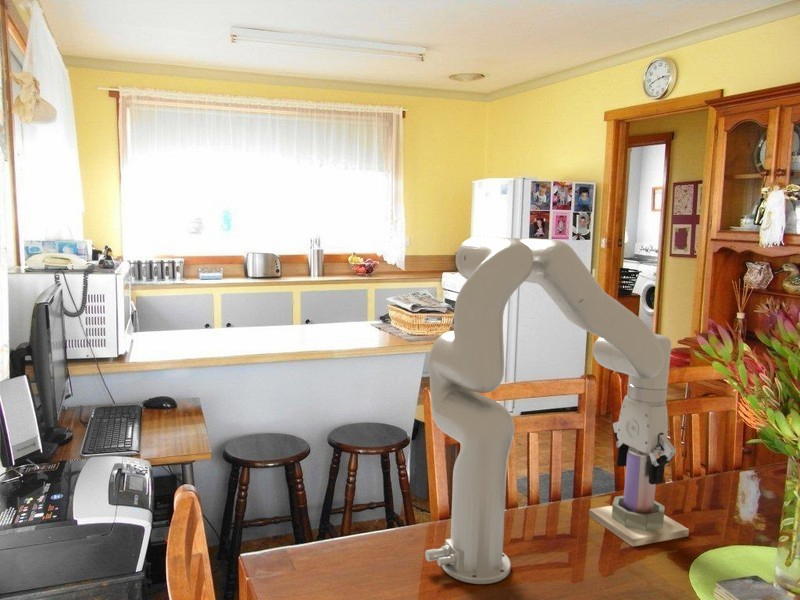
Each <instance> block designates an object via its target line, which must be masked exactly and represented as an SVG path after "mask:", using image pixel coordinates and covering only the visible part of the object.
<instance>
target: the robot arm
mask: <svg viewBox="0 0 800 600" xmlns="http://www.w3.org/2000/svg"><path fill="white" fill-rule="evenodd" d="M455 266H456V269H457V271H458V272H459V274H460V275H461V276H462V277H464V279H465V280H466V281H465V282H464V284H463V285H462V287H461V289H460V291H459V292H458V295H457V297H456V300H455V304H454V307H453V308H454V311H453V330H449V331H447V332H444V333H442V334H441V335H440V336H439V337H438V338H437V339H436V340H435V341H434V343H433V344H432V346H431V350H430V353H429V359H428V371H429V372H428V374H429V392H430V395H429V396H430V408H431V414H432V417H433V422H434V423H435V425H436V426H437V428H438V429H439V430H440V431H441V432H443V433H444V434H446V435H447V436H448V437H450V438H451V439H454V440H456V442H458V443H460V450H459V453H458V455H457V458H456V459H455V462H454V466H453V471H452V490H451V491H452V495H451V497H452V500H451V516H450V517H451V522H450V526H451V527H450V538H447V539H445V541H444V542H445V545H441V546H440V548H432V549H426V550H425V551H424V556H425V560H426V562H432V561H436V562H437V566H439V567H442V569H443V571H444V572H445V573H446V574H447V575H449V576H450V577H452V578H454V579H455V580H458V581H461V582H464V583H468V584H475V585H488V584H494V583H495V584H496V583H499V582H500V581H502V580H503V579H506V577H508V576H509V575H510V573H511V559H510V558H509V557H508V556H507V555H506V554H505V553H504V552H503V549H504V533H505V532H504V530H505V529H504V528H505V512H506V511H505V510H506V489H507V473H508V472H507V471H508V464H509V463H508V462H509V458H510V457H509V455H510V451H511V447H512V444H513V440H514V437H515V436H514V435H515V423H514V418H513V416H512V415H511V413H510V412H509V410H508V409H507V408H506V407H505V406H504V405H502V403H500V402H498V401H496V400H494V399H493V398H490V397H489V396H486V395H483V394H487V393H491V392H493V391H496V390H497V389H498V388H499V387H500V385H501V383H502V382H503V379H504V375H505V352H504V351H505V349H504V347H505V346H504V314H505V309H506V306H507V304H508V302H509V299H510V298H511V296H512V295H513V294H514V293H515V292H516V290H518V288H520V286H522V284H523V283H525V282H526V283H531V284H537V285H539V286H540V287H542V289H543V290H544V291H545V292H546V294H547V295H548V296H549V298H550V299H551V300H552V301H553V302H554V304H555V305H556V306H557V307H558V309H559V310H560V311H561V312H562V314H563V315H564V316H565V318H566V319H568V321H569V322H571V323H573V324H574V325H576V326H577V327H578V328H581V329H582V330H584V331H585V332H588V333H590V334H592V335H594V336H597V338H596V340H595V341H594V342H593V346H592V355H593V358H594V360H595V361H596V362H597V364H599V365H600V366H602V367H603V368H605V369H608V370H611V371H614V372H618V373H622V374H625V375H628V381H627V382H628V383H627V385H626V386H627V392H626V393H627V394H626V395H624V398H623V400H622V403H621V407H620V411H619V415H618V416H619V417H618V421H615V422H613V423H612V427H613V431H614V435H613V436H614V439H615V441H616V443H615V444H616V448H617V456H616V457H617V458H616V466H617V467H618V468H619V467H620V468H621V467H626V461H627V453H628V449H629V447H632V448H634V449H636V450H638V451H640V452H642V453H645V454H649V455H650V458H651V460H652V463H653V464H650V471H649V483H650V484H656V485H659V484H660V485H661V484H663V482H664V477H665V467H666V466H668V463H670V462H671V461H672V459H673V458H674V456H675V454H676V451H677V450H676V447H674V445H673V444H672V443H671V441H669V439H668V434H669V433H668V429H669V425H668V424H669V417H668V416H669V414H668V405H667V404H666V403H667V393H668V384H669V373H670V363H671V353H672V341H671V338H669V337H668V336H666V335H664V334H658V333H654V332H653V331H652V330H651V328H650V327H649V326H648V325H647V324H646V322H645V321H644V320H642V319H641V318H640V317H639V316H637V315H636V314H635V313H634V312H633V311H632V310H630V309H629V308H627V307H626V306H625V305H623V304H622V303H621V302H619V301H618V300H617V299H615V298H613V296H611V295H609V294H608V293H607V292H606V291H605V290H604V289H603V288H602V287H601V284H599V282H598V281H597V280H596V278H595V277H594V276H593V274H592V273H591V272H590V270H589V269H588V267H587V266H586V265H585V263H584V262H583V261H582V260H581V258H580V256H578V254H577V253H576V252H575V250H574V249H573V247H571V246H570V245H569V244H568V243H566V242H564V241H562V240H559V239H549V238H548V239H547V238H533V237H531V238H530V237H523V238H522V237H521V238H518V237H517V238H516V237H513V238H510V237H508V238H507V237H490V236H473V237H469V238H468V239H466V240H464V241H463V242H462V243H461V244H460V245H459V247H458V248H457V251H456V255H455ZM656 454H657V456H656ZM657 457H658V459H657Z"/></svg>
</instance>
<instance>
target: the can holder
mask: <svg viewBox="0 0 800 600" xmlns="http://www.w3.org/2000/svg"><path fill="white" fill-rule="evenodd" d="M623 502H624V495H618V496H614V498H613V501H612V505H607V506H601V507H595V508H590V509H588V517H590V518H591V519H593V520H594V521H596V522H597V523H599V525H601V526H603V528H606V529H607V530H608V531H610V532H611V533H613V534H614V535H615V536H616V537H619V539H621V540H623V541H624V542H626V543H627V544H628V545H630V546H631V547H633V548H634V547H638V546H644V545H649V544H653V543H654V544H655V543H659V542H665V541H670V540H677V539H682V538H687V537H689V533H690V532H689V531H690V529H689V528H687V527H686V526H684V525H683V524H681V523H679V522H677V521H676V520H674V519H673V518H671V517H669V516H668V515H666V514H665V505H663V504H661V503H659V502H658V501H656V500H655V499H654V510H653V514H647V515H645V514H639V513H634V512H629V511H627V510H626V509H624V508H623Z"/></svg>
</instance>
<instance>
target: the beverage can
mask: <svg viewBox="0 0 800 600" xmlns="http://www.w3.org/2000/svg"><path fill="white" fill-rule="evenodd" d="M656 456H657V459H658V458H659V456H658V454H656ZM650 464H653V463H652V460H651V458H650V455H649V454H645V453H642V452H640V451H638V450H636V449H634V448H632V447H630V446H629V449H628V453H627V461H626V466H625V476H624V477H625V478H624V489H623V496H624V502H623V508H624V509H626V510H627V511H629V512H634V513H639V514H645V515H647V514H653V510H654V500H655V495H656V485H657V484H650V483H649V471H650Z"/></svg>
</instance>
